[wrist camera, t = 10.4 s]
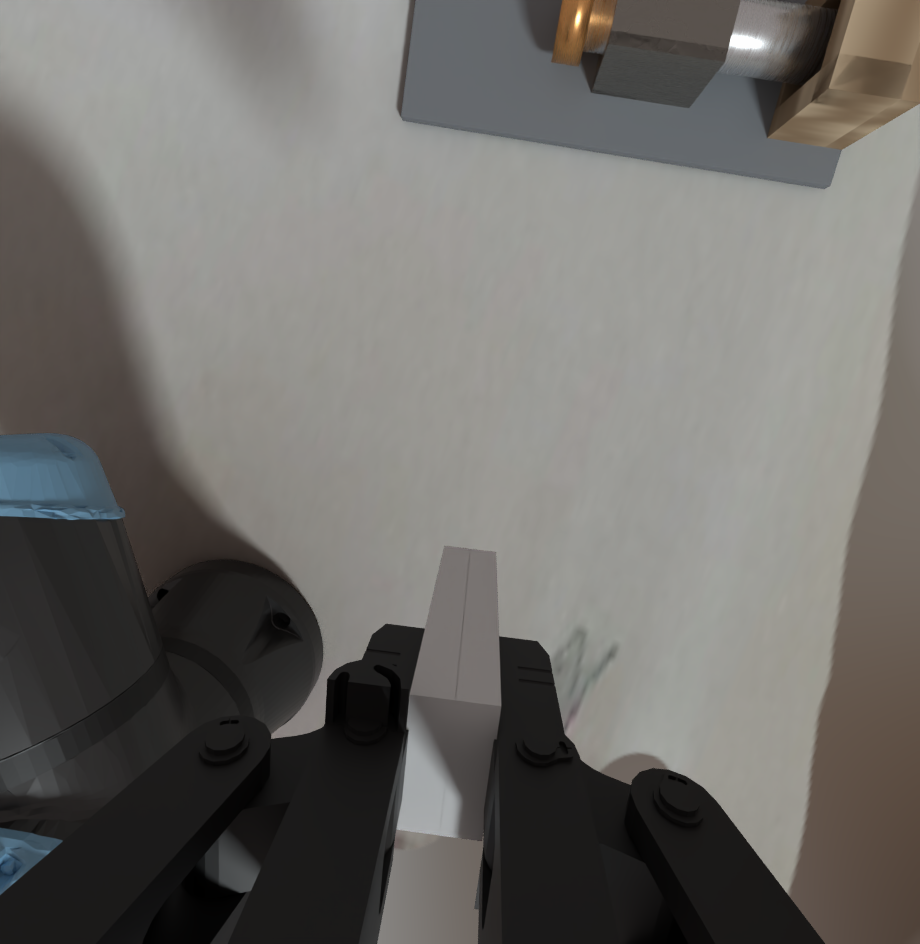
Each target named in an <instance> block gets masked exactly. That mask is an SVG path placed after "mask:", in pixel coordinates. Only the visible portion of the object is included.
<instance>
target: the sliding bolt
mask: <svg viewBox="0 0 920 944" xmlns="http://www.w3.org/2000/svg"><path fill="white" fill-rule="evenodd" d="M615 5H616V0H562V5H561V10H560V16H559V21H558V27H557V32H556V38H555V43H554V49H553V55H552V61H551V63H558V64H564V65H570V66H577V67H579V64H580V60H581V56H582V52H590V53H596V54H603V53H604V50H605V47H606V44H607V41H608V38H609V34H610V29H611V24H612V19H613V14H614V9H615ZM837 13H838V9H831V8H825V7H818V6H811V5H805V4H798V3H791V2H784V1H778V0H741V1H740V5H739V9H738V13H737V17H736V21H735V25H734V29H733V33H732V37H731V40H730V44H729V48H728V52H727V56H726V60H725V63H724V64H723V65H722V66H721V68H720V69H719V70H718V72H719V73H725V74H732V75H738V76H745V77H751V78H758V79H764V80H771V81H777V82H783V83H790V84H796V85H804V84H805V83H806V82H807V81H809V80H810V79H811V78H812V77H813V76H814V75H815V74H816V73H818V72H819V71H820V70H821V67H822V63H823V60H824V57H825V53H826V50H827V46H828V43H829V40H830V36H831V33H832V30H833V26H834V23H835V20H836V16H837Z"/></svg>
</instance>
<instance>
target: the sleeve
mask: <svg viewBox="0 0 920 944" xmlns="http://www.w3.org/2000/svg"><path fill="white" fill-rule="evenodd" d="M740 1H741V0H616V5H615V9H614V14H613V19H612V24H611V29H610V34H609V38H608V41H607V44H606V47H605V50H604V53H603V54H599V58H598V63H597V67H596V72H595V77H594V82H593V87H592V92H591V93H595V94H601V95H608V96H614V97H620V98H627V99H633V100H639V101H646V102H652V103H658V104H665V105H671V106H677V107H684V108H690V107H691V105H692V104H693V103H694V101H695V100H696V99H697V98H698V96H699V95H700V94H701V92H702V91H703V90H704V88H705V87H706V86H707V85H708V83H709V82H710V81H711V79H712V78H713V77H714V75H715V74H716V73H717V72H718V70H719V69H720V68H721V66H722V65H723V64H724V63H725V60H726V56H727V52H728V48H729V44H730V40H731V37H732V33H733V29H734V25H735V21H736V17H737V13H738V9H739V5H740Z"/></svg>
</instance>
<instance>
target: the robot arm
mask: <svg viewBox="0 0 920 944" xmlns="http://www.w3.org/2000/svg"><path fill="white" fill-rule="evenodd" d="M123 517H125V511H124V509H123V508H121V507H119V506H118V505H117V503H116V500H115V498H114V495H113V493H112V490H111V488H110V485H109V483H108V480H107V478H106V475H105V473H104V470H103V468H102V465H101V463H100V460H99V458H98V456H97V455H96V453H95V452H94V451H93V450H92V449H91V448H90V447H89V446H88V445H87V444H85V443H84V442H82V441H81V440H79V439H77V438H74V437H71V436H68V435H63V434H57V433H35V434H14V435H0V944H377V941H378V936H379V930H380V925H381V920H382V914H383V909H384V904H385V898H386V893H387V888H388V883H389V877H390V872H391V867H392V861H393V851H394V841H395V833H396V828H397V829H398V830H405V831H412V832H419V833H426V834H434V835H441V836H448V837H455V838H462V839H471V840H477V841H482V837H483V830H484V845H483V846H484V847H483V854H482V861H481V867H480V874H479V881H478V888H477V895H476V901H475V909H479V927H478V928H479V929H478V944H825V943H824V942H823V940H822V939H821V938H820V936H819V935H818V934H817V932H816V931H815V930H814V928H813V927H812V926H811V924H810V923H809V922H808V921H807V920H806V918H805V917H804V915H803V914H802V913H801V911H800V910H799V909H798V907H797V906H796V905H795V904H794V902H793V901H792V900H791V898H790V897H789V896H788V894H787V893H786V892H785V890H784V889H783V888H782V886H781V885H780V884H779V882H778V881H777V880H776V879H775V877H774V876H773V875H772V873H771V872H770V871H769V869H768V868H767V867H766V865H765V864H764V863H763V862H762V860H761V859H760V858H759V856H758V855H757V854H756V852H755V851H754V850H753V848H752V847H751V846H750V844H749V843H748V842H747V841H746V839H745V838H744V837H743V835H742V834H741V833H740V831H739V830H738V829H737V827H736V826H735V825H734V824H733V822H732V821H731V820H730V818H729V817H728V816H727V814H726V813H725V812H724V810H723V809H722V808H721V806H720V805H719V804H718V803H717V801H716V800H715V799H714V798H713V797H712V796H711V795H710V794H709V793H708V792H707V791H706V790H705V789H704V788H703V787H702V786H700V785H699V784H697V783H695V782H694V781H692V780H691V779H689V778H688V777H686V776H684V775H681V774H678V773H676V772H673V771H670V770H665V769H655V768H652V769H649V770H645V771H642V772H639V774H638V775H637V776H636V777H635V778H634V779H633V780H632V784H631V785H629V784H626V783H623V782H621V781H619V780H616V779H614V778H611V777H609V776H606V775H604V774H602V773H600V772H598V771H596V770H594V769H592V768H591V767H590V766H588V765H587V764H585V763H584V762H583V761H582V760H581V759H580V756H579V754H578V752H577V749H576V747H575V745H574V743H573V742H572V741H571V740H570V739H569V738H568V737H567V736H566V735H565V734H564V728H563V723H562V718H561V713H560V708H559V703H558V698H557V693H556V688H555V686H554V684H555V683H554V678H553V674H552V668H551V663H550V658H549V655H548V654H547V652H546V651H545V650H544V649H543V647H542V646H541V645H540V644H539V643H538V641H531V640H523V639H515V638H507V637H500V636H499V622H498V592H497V563H496V552H492V551H483V550H475V549H467V548H459V547H450V546H444V550H443V554H442V558H441V563H440V567H439V571H438V575H437V580H436V584H435V588H434V592H433V597H432V601H431V605H430V610H429V614H428V618H427V622H426V627H425V629H423V628H415V627H407V626H400V625H392V624H385V625H384V626H383V627H382V628H380V629H379V630H378V631H376V632H375V633H374V634H373V635H372V637H371V639H370V642H369V644H368V647H367V650H366V651H365V654H364V656H363V659H362V660H359V661H355V662H350V663H347V664H345V665H343V666H341V667H339V668H337V669H336V670H335V671H334V672H333V673H332V674H331V675H330V676H329V678H328V679H327V697H326V716H325V724H324V727H322V728H320V729H318V730H316V731H313V732H310V733H308V734H303V735H298V736H292V737H283V738H275V739H271V734H272V733H273V732H275V731H276V730H277V729H278V728H279V727H281V726H282V725H284V724H285V723H287V722H288V721H289V720H290V719H291V718H293V717H294V715H295V714H296V713H297V712H298V711H299V710H300V709H301V707H302V706H303V705H304V703H305V702H306V700H307V698H308V696H309V695H310V693H311V691H312V689H313V687H314V686H315V684H316V682H317V680H318V677H319V675H320V671H321V668H322V662H323V643H322V637H321V633H320V629H319V626H318V624H317V621H316V619H315V617H314V615H313V613H312V611H311V609H310V608H309V606H308V605H307V603H306V602H305V601H304V599H303V598H302V597H301V596H300V595H299V594H298V593H297V591H296V590H295V589H293V588H292V587H291V586H290V585H289V584H288V583H287V582H285V581H284V580H283V579H281V578H280V577H278V576H277V575H275V574H273V573H271V572H270V571H268V570H265V569H263V568H261V567H258V566H256V565H253V564H249V563H245V562H241V561H235V560H212V561H206V562H201V563H198V564H195V565H192V566H190V567H188V568H186V569H184V570H182V571H181V572H179V573H177V574H176V575H175V576H173V577H172V578H170V579H169V580H167V581H166V582H164V583H163V584H162V585H160V586H159V587H158V588H157V589H156V590H155V591H154V592H153V593H152V594H151V595H150V596H149V597H147V594H146V591H145V588H144V585H143V582H142V579H141V576H140V573H139V569H138V566H137V563H136V560H135V557H134V554H133V551H132V548H131V545H130V542H129V539H128V536H127V532H126V529H125V526H124V523H123V520H122V518H123Z"/></svg>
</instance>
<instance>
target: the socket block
mask: <svg viewBox="0 0 920 944" xmlns="http://www.w3.org/2000/svg"><path fill="white" fill-rule="evenodd" d="M805 5H811V6H818V7H825V8H831V9H838V13H837V16H836V20H835V23H834V26H833V30H832V33H831V36H830V40H829V43H828V46H827V50H826V53H825V57H824V60H823V63H822V67H821V70H820V71H819V72H818V73H816V74H815V75H814V76H813V77H812V78H811V79H810V80H809V81H807V82H806V83H805V84H804V85H796V84H790V83H782V87H781V90H780V94H779V98H778V101H777V105H776V108H775V112H774V115H773V119H772V122H771V126H770V129H769V133H768V136H767V138H770V139H777V140H783V141H789V142H795V143H802V144H808V145H814V146H821V147H827V148H833V149H839V150H842V149H844V148H846V147H847V146H849V145H851V144H852V143H854V142H856V141H857V140H859V139H861V138H863V137H864V136H866V135H868V134H869V133H871V132H873V131H874V130H876V129H878V128H879V127H881V126H883V125H884V124H886V123H888V122H889V121H891V120H893V119H895V118H896V117H898V116H900V115H901V114H903V113H905V112H906V111H908V110H910V109H911V108H913V107H915V106H916V105H918V104H920V0H807V1H806V2H805Z"/></svg>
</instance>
